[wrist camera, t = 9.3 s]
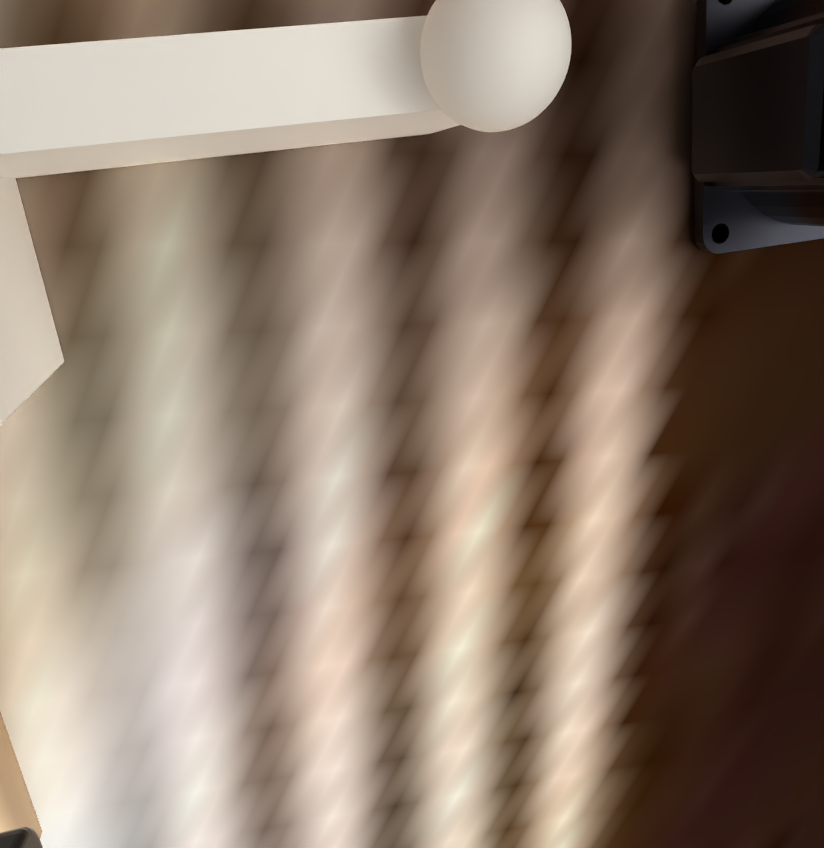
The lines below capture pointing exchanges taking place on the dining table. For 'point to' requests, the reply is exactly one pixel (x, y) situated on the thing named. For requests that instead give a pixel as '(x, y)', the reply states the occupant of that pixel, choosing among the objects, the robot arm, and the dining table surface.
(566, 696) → the dining table surface
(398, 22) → the headboard
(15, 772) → the rail
